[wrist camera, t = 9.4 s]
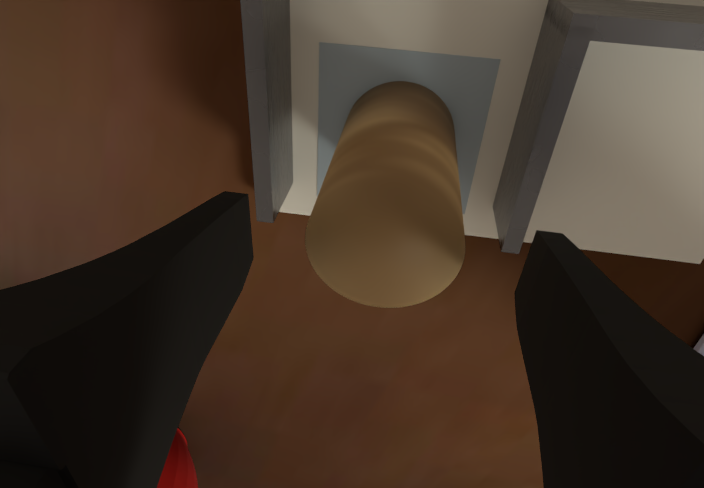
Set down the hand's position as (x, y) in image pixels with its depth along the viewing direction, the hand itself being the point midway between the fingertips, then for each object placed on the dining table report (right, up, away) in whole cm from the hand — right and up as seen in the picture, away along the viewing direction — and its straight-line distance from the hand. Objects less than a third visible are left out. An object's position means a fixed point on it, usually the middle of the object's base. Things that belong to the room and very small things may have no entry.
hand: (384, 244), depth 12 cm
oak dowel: (+1, +4, +5) cm, 7 cm away
